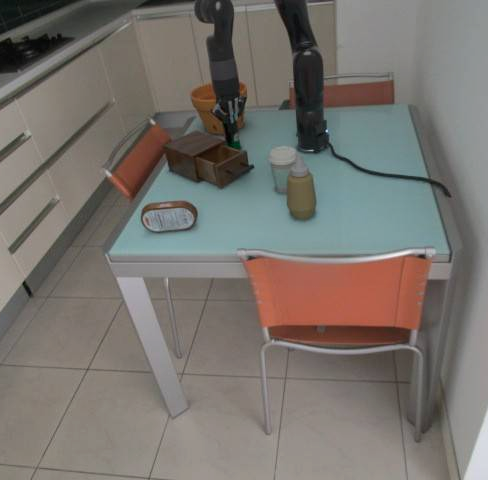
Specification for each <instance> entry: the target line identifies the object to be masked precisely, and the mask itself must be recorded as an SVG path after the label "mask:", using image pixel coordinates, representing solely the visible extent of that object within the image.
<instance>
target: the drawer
mask: <svg viewBox="0 0 488 480" xmlns="http://www.w3.org/2000/svg"><path fill="white" fill-rule="evenodd" d="M195 162H196V166H197V171H198V176H199V177H200V178H203V179H204V180H205V181H206V182H207V181H208V182H210V183H212V184H215V185H217V188H218V189H219V190H221V189H223V188H225V187H227V186H228V185H230V184H232V183H234V182H236V181H237V180H239V179H241V178H242V177H244V176H245V175H247V174H249V173H250V172H251V171H252V170H254V169H255V164H253V163H252V164H249V163H250V162H249V156H248V150H246V149H243V150H242V151H241V150H237V149H234V148H231V147H228V146H225V145H222V144H221V145H219V146H217V147H215V148H213V149H211V150H209V151H207V152H205V153H203V154H201V155H199V156H197V157H195Z"/></svg>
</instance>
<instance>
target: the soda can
mask: <svg viewBox="0 0 488 480" xmlns="http://www.w3.org/2000/svg"><path fill="white" fill-rule="evenodd" d="M222 125H223V131H224V134H223V137H224V140H225V143H226V146H228V147H231V148H234V149H237V150H239V151H241V149H242V146H241V139H240V133H239V132H240V131H239V130H238V133H236V134H234V135H232V134H230V133H229V132H228V128H227V123H224V122H222ZM237 125H238V124H237Z"/></svg>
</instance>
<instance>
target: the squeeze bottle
mask: <svg viewBox="0 0 488 480" xmlns="http://www.w3.org/2000/svg"><path fill="white" fill-rule="evenodd" d="M309 170H310V168H309V165H308V164H306V163H304V160H303V156H302V153H300V152H297V154H296V159H295V164H294V165H292V166H291V168H290V171H291V173H290V174H289V175H288V178H287V193H286V207H287V209H288V210H289V213H290V215H291V216H292V218H293V219H295V220H298V221H304V220H308V219H310V218H312V217H313V215H314V213H315V210H316V207H317V202H318V201H317V195H316V188H315V181H314V176H313V174H312V173H311V172H310V171H309Z"/></svg>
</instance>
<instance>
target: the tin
mask: <svg viewBox="0 0 488 480" xmlns="http://www.w3.org/2000/svg"><path fill="white" fill-rule="evenodd" d="M198 217H199V212H198V209H197V207H196V206H195V205H194V204H193V203H192V202H189V201H188V200H182V199H180V200H179V199H178V200H168V201H159V202H157V201H156V202H150V203H147V204H146V205H144V206H143V208H142V209H141V214H140V222H141V224H142V226H143V227H144V228H145V229H147V230H148V231H150V232H153V233H165V232H166V233H167V232H177V231H179V232H180V231H188V230H190V229H192V228H193V227H194V226H195V225H196V223H197V221H198Z"/></svg>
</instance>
